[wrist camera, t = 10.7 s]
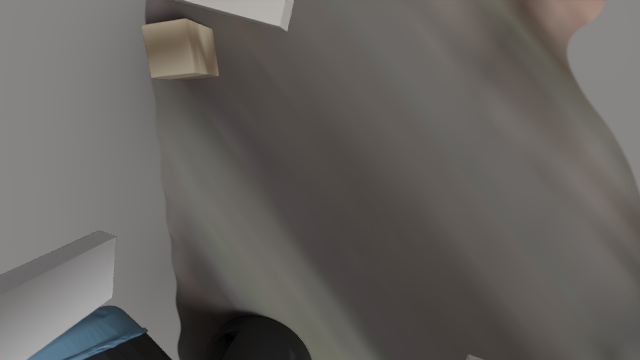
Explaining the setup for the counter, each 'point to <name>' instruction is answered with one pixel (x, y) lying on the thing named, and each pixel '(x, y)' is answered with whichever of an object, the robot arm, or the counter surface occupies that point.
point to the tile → (250, 10)
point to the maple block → (180, 50)
